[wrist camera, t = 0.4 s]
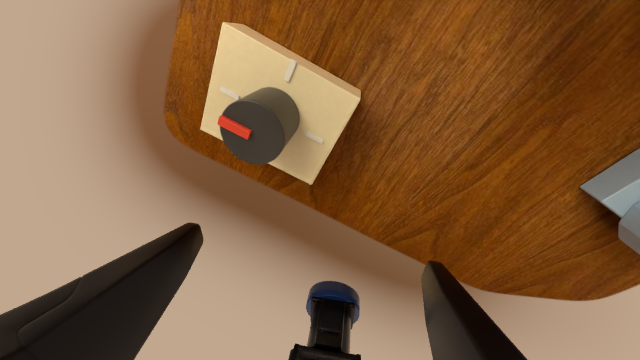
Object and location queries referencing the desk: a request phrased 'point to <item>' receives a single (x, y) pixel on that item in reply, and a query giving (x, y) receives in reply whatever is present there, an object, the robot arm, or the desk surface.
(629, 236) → the button box
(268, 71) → the dial panel
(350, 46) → the desk surface
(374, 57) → the desk surface
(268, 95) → the dial knob
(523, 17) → the desk surface
